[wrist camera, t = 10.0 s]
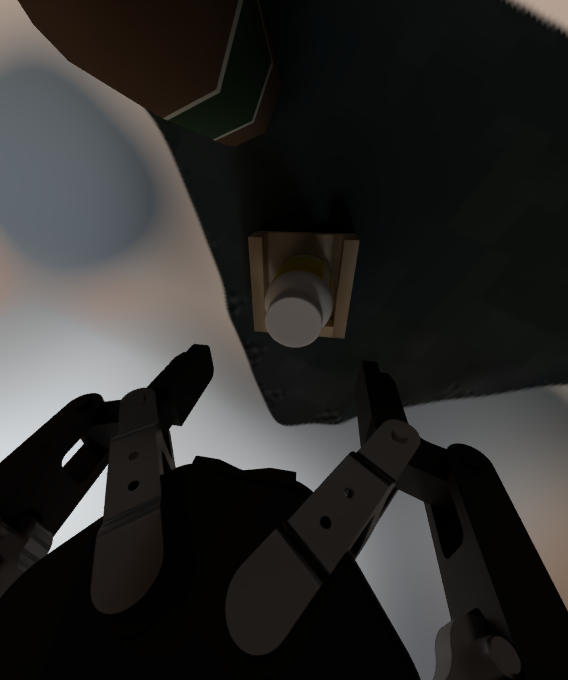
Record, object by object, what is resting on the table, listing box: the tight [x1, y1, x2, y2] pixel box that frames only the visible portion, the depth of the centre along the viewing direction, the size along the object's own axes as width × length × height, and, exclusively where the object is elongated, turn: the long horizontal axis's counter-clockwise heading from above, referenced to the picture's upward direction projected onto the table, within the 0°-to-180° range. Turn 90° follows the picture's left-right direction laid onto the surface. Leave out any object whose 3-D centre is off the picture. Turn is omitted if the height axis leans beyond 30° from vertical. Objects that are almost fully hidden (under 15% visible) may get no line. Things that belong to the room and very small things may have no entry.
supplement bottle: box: [265, 252, 333, 347], centre depth 21 cm, size 5×5×10 cm
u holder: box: [248, 231, 360, 338], centre depth 25 cm, size 9×9×4 cm
